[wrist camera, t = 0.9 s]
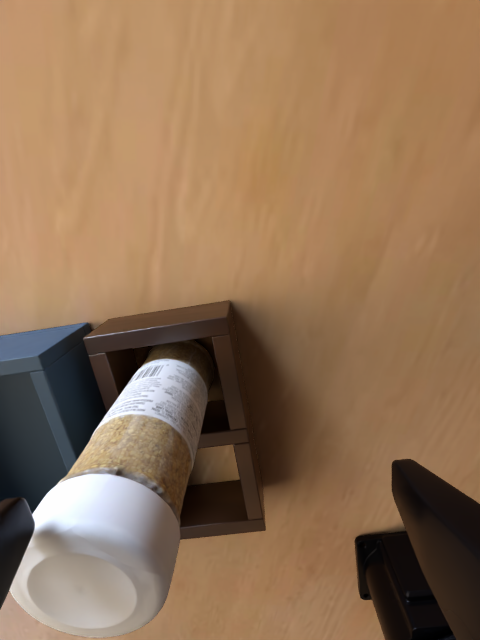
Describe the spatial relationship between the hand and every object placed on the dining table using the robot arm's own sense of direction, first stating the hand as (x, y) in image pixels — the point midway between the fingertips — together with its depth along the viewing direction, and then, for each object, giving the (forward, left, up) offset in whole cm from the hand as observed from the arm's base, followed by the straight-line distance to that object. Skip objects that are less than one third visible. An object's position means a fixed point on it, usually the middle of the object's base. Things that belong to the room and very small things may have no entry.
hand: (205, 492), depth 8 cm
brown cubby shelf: (-6, +4, -13) cm, 15 cm away
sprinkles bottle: (-2, +4, -14) cm, 14 cm away
